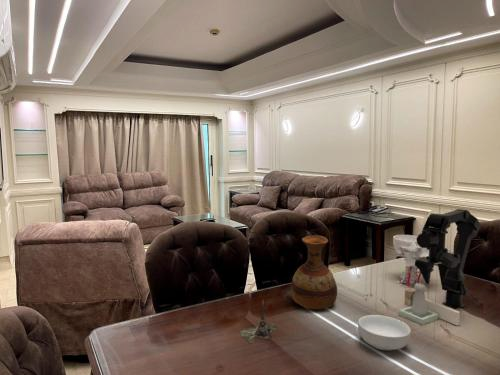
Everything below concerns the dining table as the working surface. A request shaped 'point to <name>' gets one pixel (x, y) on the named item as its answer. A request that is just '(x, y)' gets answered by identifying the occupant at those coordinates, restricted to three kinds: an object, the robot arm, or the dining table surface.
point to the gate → (443, 311)
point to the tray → (422, 321)
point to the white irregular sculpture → (409, 256)
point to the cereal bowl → (384, 332)
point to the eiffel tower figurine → (258, 329)
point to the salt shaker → (419, 301)
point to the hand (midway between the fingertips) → (434, 282)
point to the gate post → (409, 297)
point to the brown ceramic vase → (314, 277)
